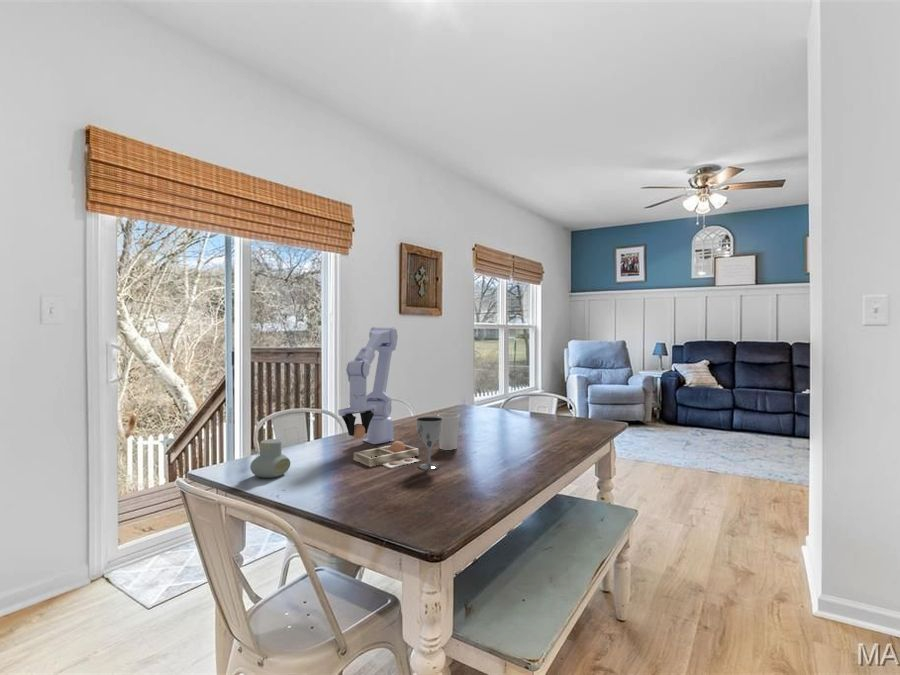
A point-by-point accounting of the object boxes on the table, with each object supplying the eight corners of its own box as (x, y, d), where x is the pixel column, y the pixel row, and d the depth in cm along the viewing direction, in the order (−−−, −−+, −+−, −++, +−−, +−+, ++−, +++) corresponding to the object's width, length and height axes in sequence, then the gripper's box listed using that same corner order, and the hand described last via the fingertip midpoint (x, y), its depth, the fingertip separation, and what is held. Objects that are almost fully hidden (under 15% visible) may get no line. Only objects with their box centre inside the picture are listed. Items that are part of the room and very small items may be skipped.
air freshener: (269, 482, 132) (269, 446, 132) (245, 479, 134) (245, 444, 134) (294, 471, 142) (294, 438, 142) (271, 469, 145) (271, 436, 144)
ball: (399, 453, 164) (399, 438, 164) (408, 456, 160) (408, 441, 160) (387, 455, 161) (387, 440, 161) (396, 458, 157) (396, 443, 157)
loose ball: (360, 435, 168) (360, 421, 168) (368, 438, 165) (368, 423, 165) (347, 438, 165) (347, 423, 165) (355, 440, 161) (355, 425, 161)
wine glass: (447, 466, 148) (447, 418, 148) (428, 472, 142) (429, 422, 142) (429, 462, 153) (429, 415, 153) (411, 467, 147) (411, 418, 147)
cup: (463, 447, 172) (463, 414, 172) (451, 452, 165) (452, 418, 165) (445, 444, 176) (445, 412, 176) (432, 449, 170) (433, 415, 169)
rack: (400, 450, 168) (400, 443, 168) (429, 459, 156) (429, 451, 156) (353, 460, 155) (353, 452, 155) (380, 470, 143) (381, 462, 143)
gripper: (368, 391, 173) (368, 429, 173) (333, 395, 162) (333, 435, 163) (380, 393, 168) (380, 432, 168) (345, 398, 157) (344, 438, 158)
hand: (358, 434), depth 165 cm, fingers closed on loose ball, 5 cm apart
